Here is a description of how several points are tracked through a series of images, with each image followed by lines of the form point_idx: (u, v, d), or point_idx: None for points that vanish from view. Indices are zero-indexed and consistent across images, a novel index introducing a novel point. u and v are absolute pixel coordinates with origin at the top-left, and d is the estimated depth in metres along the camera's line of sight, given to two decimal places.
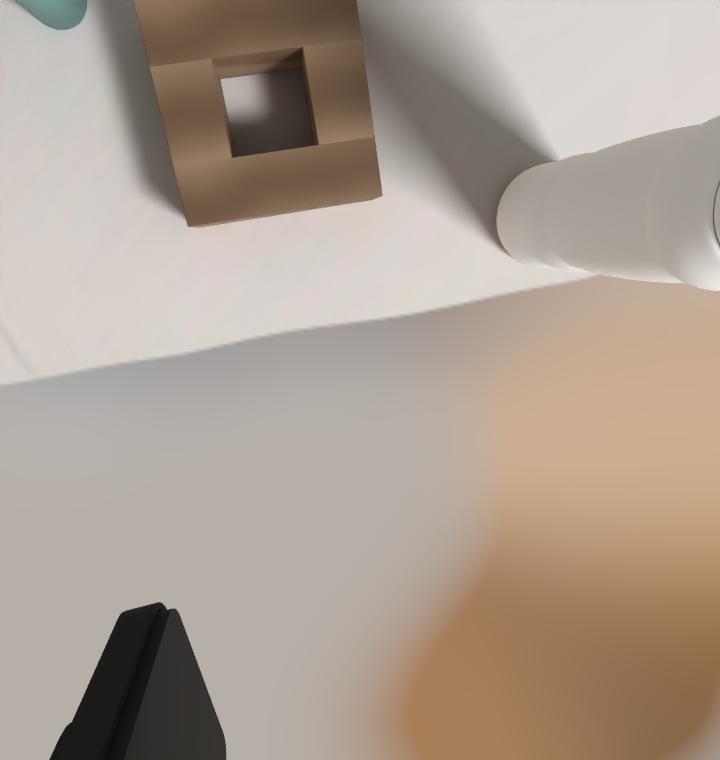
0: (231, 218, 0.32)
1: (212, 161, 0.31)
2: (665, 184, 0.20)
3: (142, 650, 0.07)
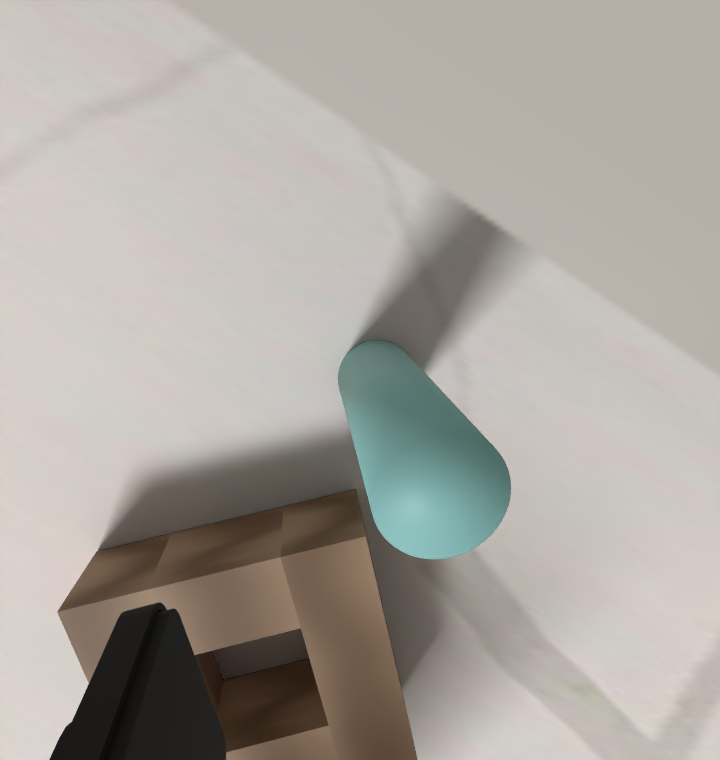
0: (83, 665, 0.20)
1: None
2: None
3: (142, 650, 0.07)
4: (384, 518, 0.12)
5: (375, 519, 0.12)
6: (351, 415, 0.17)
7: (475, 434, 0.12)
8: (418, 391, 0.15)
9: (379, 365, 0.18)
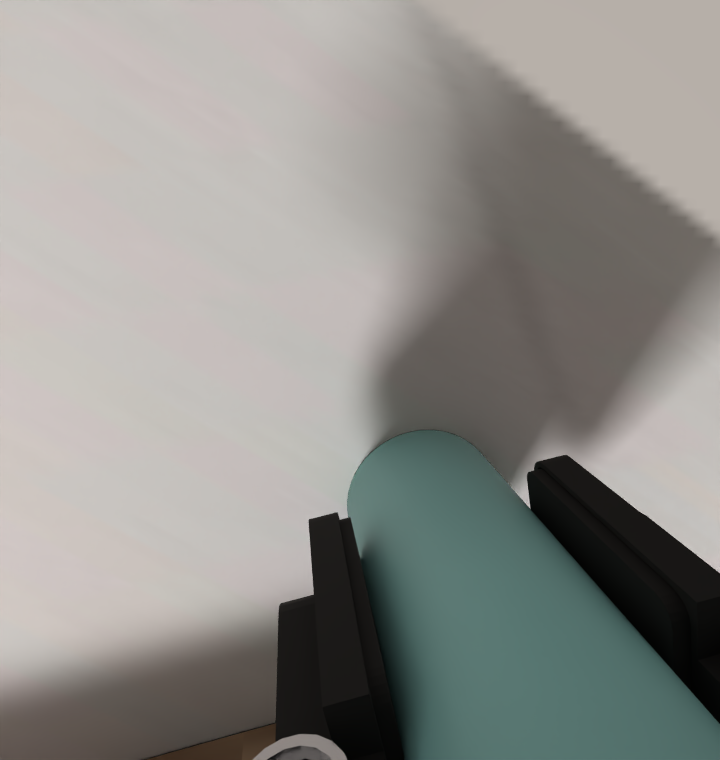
0: None
1: None
2: None
3: (343, 542, 0.08)
4: None
5: None
6: (406, 738, 0.06)
7: None
8: None
9: (465, 550, 0.07)
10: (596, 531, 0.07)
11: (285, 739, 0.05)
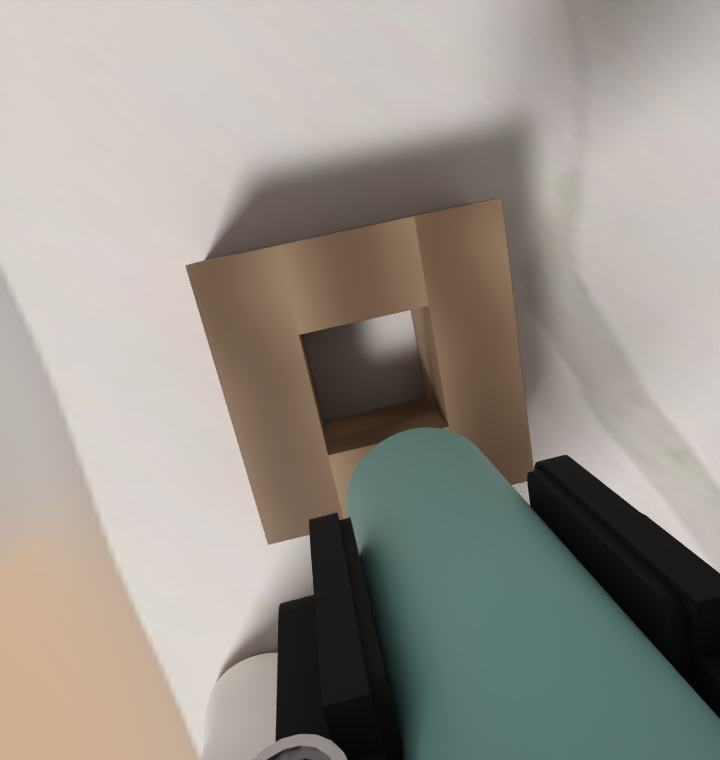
0: (207, 334, 0.20)
1: (290, 306, 0.20)
2: None
3: (343, 542, 0.08)
4: None
5: None
6: (405, 735, 0.06)
7: None
8: None
9: (464, 547, 0.07)
10: (596, 531, 0.07)
11: (285, 739, 0.05)
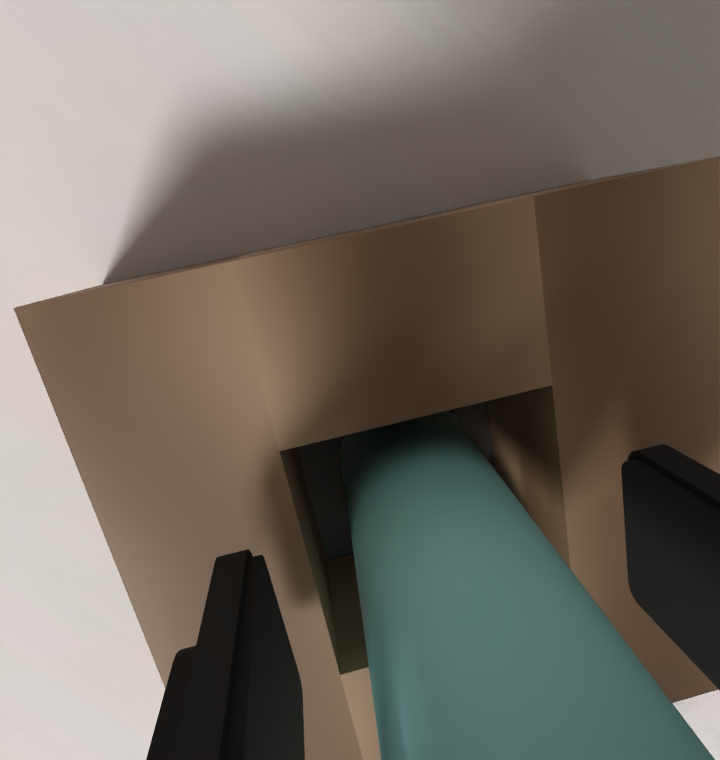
0: (78, 456, 0.09)
1: (261, 392, 0.09)
2: None
3: (244, 585, 0.08)
4: None
5: None
6: (364, 595, 0.08)
7: None
8: (533, 609, 0.06)
9: (418, 473, 0.09)
10: None
11: None
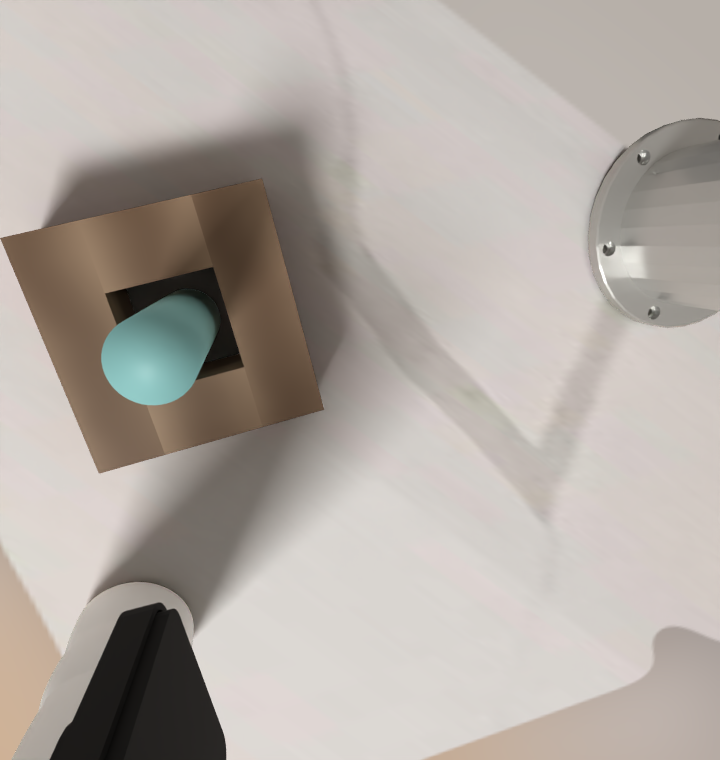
0: (26, 295, 0.24)
1: (95, 269, 0.24)
2: None
3: (142, 650, 0.07)
4: (113, 376, 0.19)
5: (107, 377, 0.19)
6: None
7: (168, 318, 0.19)
8: (161, 305, 0.22)
9: (162, 298, 0.25)
10: None
11: None
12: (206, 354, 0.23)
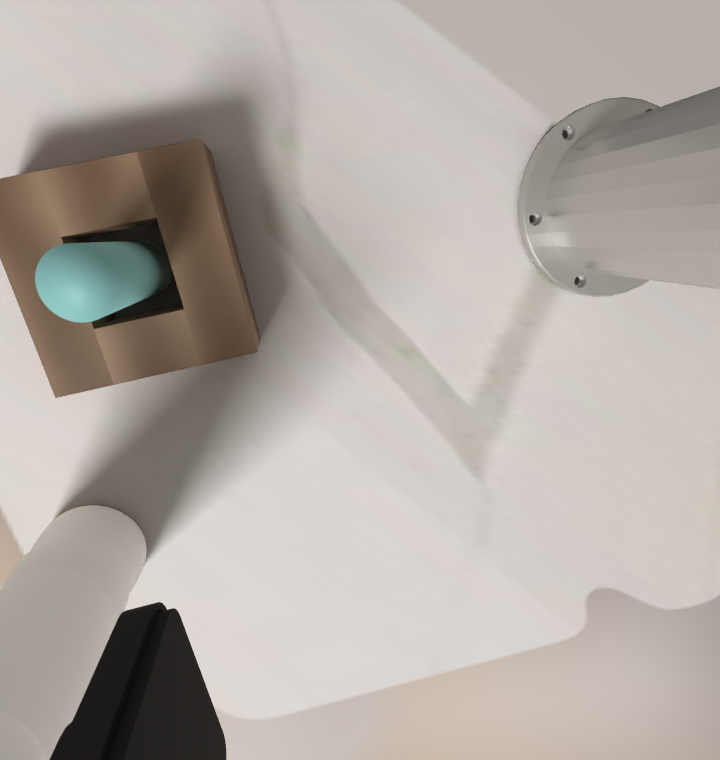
0: None
1: (52, 215, 0.28)
2: None
3: (142, 650, 0.07)
4: (45, 295, 0.23)
5: (39, 295, 0.23)
6: None
7: (91, 247, 0.22)
8: (98, 242, 0.25)
9: None
10: None
11: None
12: (138, 288, 0.26)
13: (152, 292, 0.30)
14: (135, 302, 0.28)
